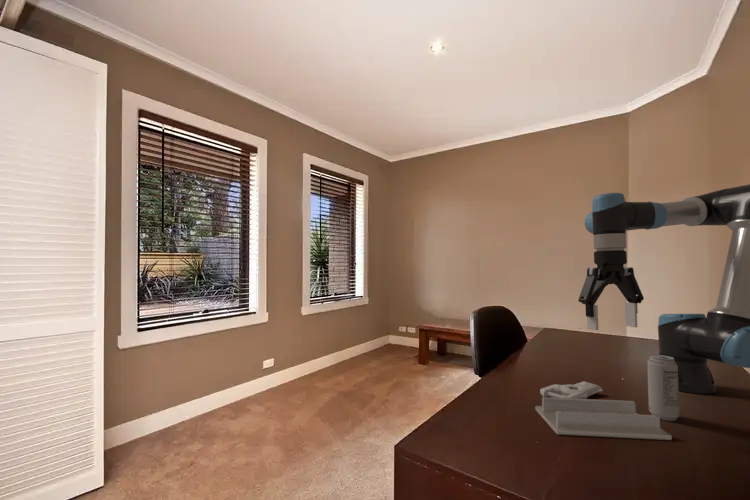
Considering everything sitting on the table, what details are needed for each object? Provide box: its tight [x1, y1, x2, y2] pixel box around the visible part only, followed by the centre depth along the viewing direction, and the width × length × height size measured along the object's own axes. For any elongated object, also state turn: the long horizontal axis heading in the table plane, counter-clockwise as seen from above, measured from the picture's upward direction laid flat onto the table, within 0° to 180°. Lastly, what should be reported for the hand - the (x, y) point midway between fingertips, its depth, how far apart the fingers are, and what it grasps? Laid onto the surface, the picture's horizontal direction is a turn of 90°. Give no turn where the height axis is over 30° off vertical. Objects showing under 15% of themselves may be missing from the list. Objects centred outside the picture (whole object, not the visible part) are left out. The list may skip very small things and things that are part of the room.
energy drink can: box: [647, 354, 680, 422], centre depth 90 cm, size 6×6×15 cm
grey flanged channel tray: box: [535, 396, 673, 441], centre depth 86 cm, size 24×14×4 cm, turn 84°
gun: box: [539, 380, 604, 399], centre depth 105 cm, size 18×3×10 cm
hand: (612, 328), depth 96 cm, fingers open, 13 cm apart
